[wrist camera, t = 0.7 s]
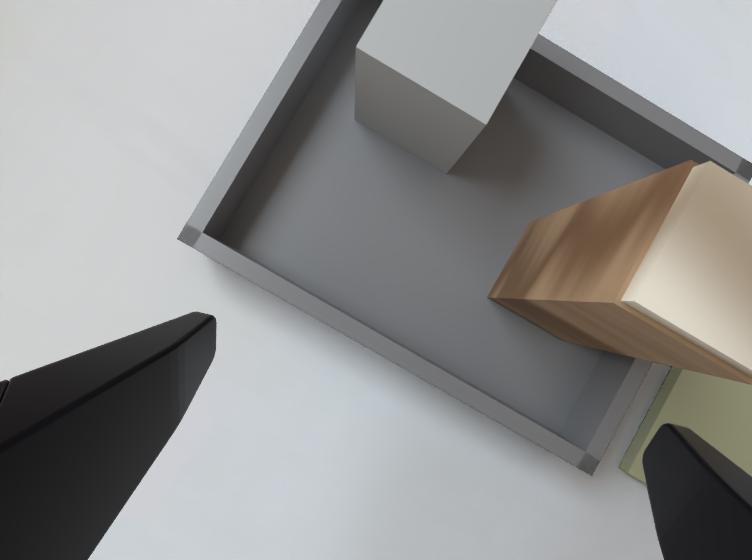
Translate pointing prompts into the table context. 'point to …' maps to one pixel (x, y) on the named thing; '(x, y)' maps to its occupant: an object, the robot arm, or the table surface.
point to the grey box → (441, 70)
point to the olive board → (698, 417)
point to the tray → (440, 224)
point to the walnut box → (645, 272)
